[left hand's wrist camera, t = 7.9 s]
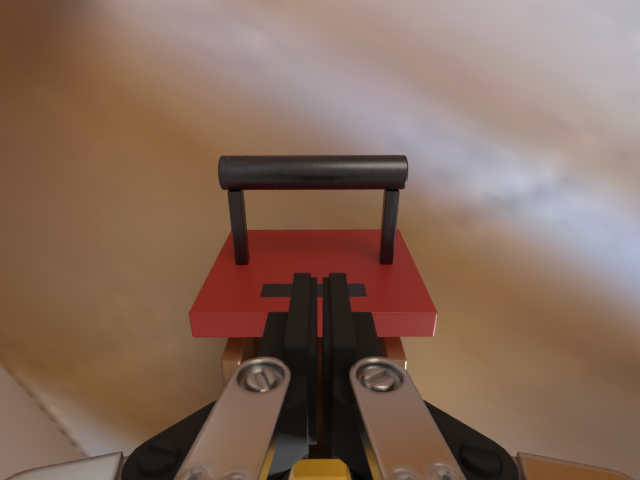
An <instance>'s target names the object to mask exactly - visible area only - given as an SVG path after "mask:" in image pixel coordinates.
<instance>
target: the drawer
mask: <svg viewBox="0 0 640 480" xmlns="http://www.w3.org/2000/svg"><path fill="white" fill-rule="evenodd" d="M218 177H219V183H220V186H221V188H222V189H223V190H228V201H229V210H230V219H231V228H232V230H231V232H230V234H229V236H228V238H227V240H226V242H225V244H224V246H223V248H222V250H221V251H220V253H219V255H218V257H217V259H216V261H215V263H214V265H213V267H212V269H211V271H210V273H209V275H208V277H207V279H206V281H205V283H204V285H203V287H202V289H201V290H200V292H199V294H198V296H197V298H196V300H195V302H194V304H193V306H192V308H191V310H190V312H189V317H190V323H191V328H192V334H193V337H229V338H228V341H227V344H226V347H225V350H224V353H223V356H222V360H221V365H222V372H223V378H224V385H226V383H227V381H228V379H229V377H230V375H231V374H232V372H233V371H234V369H235V368H236V367H237V366H238V365H240V364H241V363H242V362H244V361H247V360H249V359H251V358H256V357H258V353H259V348H260V344H261V340H262V336H263V332H264V328H265V324H266V320H267V315H268V312H288V311H289V304H290V297H291V291H292V284H293V277H294V273H311V277H317V334H318V359H317V444H309V452H308V458H301V459H339V458H332V452H331V444H323V359H322V334H323V277H329V273H346V277H347V284H348V291H349V297H350V304H351V311H352V312H372V315H373V320H374V324H375V328H376V332H377V336H378V340H379V344H380V348H381V353H382V357H384V358H389V359H391V360H393V361H396V362H398V363H399V364H400V365H402V366H403V367H404V368H405V369H406V363H407V359H406V356H405V353H404V349H403V346H402V342H401V339H400V337H433V336H434V331H435V325H436V318H437V311H436V309H435V306H434V304H433V302H432V300H431V298H430V296H429V294H428V291H427V289H426V287H425V285H424V283H423V281H422V278H421V276H420V274H419V272H418V270H417V268H416V266H415V263H414V261H413V259H412V257H411V255H410V253H409V250H408V248H407V246H406V244H405V242H404V240H403V238H402V235H401V233H400V231H399V230H396V225H397V213H398V202H399V190H398V189H405V187H406V184H407V179H408V161H407V158H406V156H405V155H294V156H221V157H220V159H219V164H218ZM371 189H384V196H383V210H382V224H381V230H247V224H246V213H245V202H244V192H243V190H371Z"/></svg>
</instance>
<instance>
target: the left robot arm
mask: <svg viewBox="0 0 640 480" xmlns="http://www.w3.org/2000/svg"><path fill="white" fill-rule="evenodd" d="M317 359H318V334H317V277H311V273H294V277H293V284H292V291H291V297H290V304H289V311H288V312H268V315H267V320H266V324H265V328H264V332H263V336H262V340H261V344H260V348H259V353H258V357H256V358H251V359H249V360H247V361H244V362H242V363H241V364H240V365H238V366H237V367H236V368H235V369H234V371H233V372H232V374H231V375H230V377H229V379H228V381H227V383H226V385H225V386H224V388H223V390H222V392H221V394H220V396H219V397H218V399H217V400H215V401H214V402H212V403H210V404H209V405H207V406H205V407H204V408H202V409H200V410H198V411H197V412H195V413H193V414H192V415H190V416H188V417H187V418H185V419H183V420H181V421H180V422H178V423H176V424H175V425H173V426H171V427H170V428H168V429H166V430H164V431H163V432H161V433H159V434H158V435H156V436H154V437H153V438H151V439H149V440H147V441H146V442H144V443H143V444H142V445H140V446H139V447H138V448H136V449H135V450H134V451H133V452H132V454H131V455H130V456H127V457H123V453H122V452H116V453H111V454H106V455H101V456H95V457H90V458H85V459H80V460H75V461H69V462H64V463H59V464H54V465H49V466H44V467H38V468H33V469H29V470H25V471H22V472H19V473H16V474H14V475H12V476H10V477H9V478H7V479H5V480H293V477H294V464H295V463H296V462H298V461H299V460H300V459H301V458H308V452H309V444H317ZM322 359H323V444H331V452H332V458H339V459H340V460H341V461H342V462H344V463H345V464H346V477H347V480H635V479H633V478H631V477H630V476H628V475H626V474H624V473H621V472H618V471H615V470H612V469H607V468H602V467H597V466H592V465H586V464H581V463H576V462H571V461H565V460H560V459H555V458H550V457H545V456H539V455H534V454H529V453H524V452H518V453H517V457H513V456H510V455H509V454H508V452H507V451H506V450H505V449H504V448H502V447H501V446H500V445H498V444H497V443H496V442H494V441H493V440H491V439H489V438H487V437H486V436H484V435H482V434H481V433H479V432H477V431H476V430H474V429H472V428H470V427H469V426H467V425H465V424H464V423H462V422H460V421H459V420H457V419H455V418H453V417H452V416H450V415H448V414H447V413H445V412H443V411H442V410H440V409H438V408H436V407H435V406H433V405H431V404H430V403H428V402H426V401H425V400H423V399H422V397H421V396H420V394H419V392H418V390H417V388H416V386H415V385H414V383H413V381H412V379H411V377H410V375H409V374H408V372H407V371H406V369H405V368H404V367H403V366H402V365H400V364H399V363H398V362H396V361H393V360H391V359H389V358H384V357H382V353H381V348H380V344H379V340H378V336H377V332H376V328H375V324H374V320H373V315H372V312H352V311H351V304H350V297H349V291H348V284H347V277H346V273H329V277H323V334H322Z"/></svg>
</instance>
